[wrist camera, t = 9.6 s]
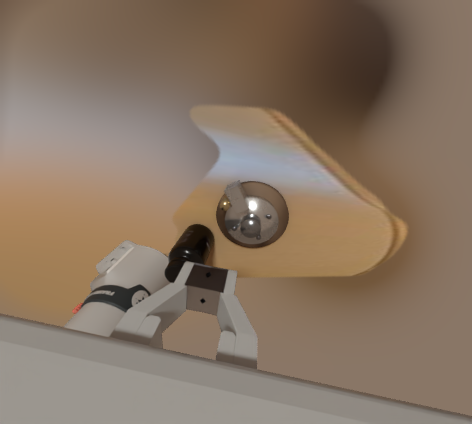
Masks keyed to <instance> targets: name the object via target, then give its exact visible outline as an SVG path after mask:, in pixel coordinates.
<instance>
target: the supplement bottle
mask: <svg viewBox="0 0 472 424" xmlns="http://www.w3.org/2000/svg"><path fill="white" fill-rule="evenodd" d="M213 242H214V236H213V234H212V232H211V231H210V229H208V228H207V227H206V226H203V225H200V224H194V225H191V226H189V227H188V228H187V229H186V230H185V231H184V233H183V234H182V236H181V237H180V238H179V240H178V241H177V243H176V244H175V245H174V247H173V248H172V250H171V251H170V253H169V256H168V261H169V263H168V266H167V267H166V269H165V272H164V273H165V277H166V279H167V280H168V281H169V282H170V283H174V282H175V280H176V278H177V277H178V275H179V273H180V271H181V269H182V267H183V265H184V263H185V262H186V261H189V262H193V263H198V264H203V265H205V263H206V260H207V258H208V255H209V253H210V250H211V248H212V245H213Z"/></svg>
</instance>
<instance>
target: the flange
mask: <svg viewBox="0 0 472 424" xmlns="http://www.w3.org/2000/svg"><path fill="white" fill-rule="evenodd" d="M224 192H225V194H226V195H227V197H228V199H229V201H230V203H231V205H230V207H229V209H228V210H227V212H226V215H225V226H226V228H227V230H228V232H229V234H230V235H231V236H232V237H233V238H235V239H236V240H238V241H240V242H242V243H246V244H259V243H263V242H265V241H267V240H269V239H270V238H271V237H272V236H273V235H274V234H275V232H276V231H277V228H278V223H279V220H278V214H277V211H276V209H275V207H274V206H273V205H272V203H271V202H269V201H268V200H267V199H265V198H263V197H260V196H255V195H246V193H245V191H244V189H243V187H242V184H241V182H240V180H238V181H236V182H234V183H231V184H229V185H227V187H226V189H225V191H224Z"/></svg>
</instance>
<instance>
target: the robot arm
mask: <svg viewBox="0 0 472 424" xmlns="http://www.w3.org/2000/svg"><path fill="white" fill-rule="evenodd" d="M168 263H169V261H168V257H166V256H165V255H164V254H163V253H161V252H159V251H158V250H156V249H153V248H150V247H147V246H140V245H137V244H135V243H133V242H131V241H128V240H125V241H124V242H122V243H121V244H120V245H119V246H118V247H116V248H115V250H113V251H112V252H111V253H110V254H108V255H107V256H106V257H105V258H104V259H102V260H101V261H100V262H99V263H98V264H97V265H96V269H97V271H98V273H99V275H98V276H97V277H96V278H95V279H94V280H93V281H92V282H91V284H90V286H91V291H92V292H91V293H90V294H89V295H88V296H87V298H86V299H85V301H84V303H80V304H79V305H77V306H76V307H75V308H74V309H73V311H72V312H73V313H74V314H75V315H74V316H73V318H71V319H70V320H69V322H68V323H67V324H66V325H65V326H64V327H60V326H55V325H50V324H45V323H42V322H37V321H33V320H28V319H23V318H19V317H14V316H9V315H5V314H0V424H472V416H469V415H465V414H460V413H455V412H450V411H446V410H442V409H437V408H432V407H428V406H423V405H418V404H414V403H409V402H405V401H400V400H396V399H391V398H386V397H382V396H377V395H373V394H368V393H363V392H359V391H354V390H350V389H345V388H340V387H336V386H331V385H327V384H322V383H317V382H313V381H308V380H303V379H299V378H294V377H290V376H285V375H281V374H276V373H271V372H267V371H262V370H257V335H256V333H255V331H254V330H253V327H252V326H251V323H250V321H249V320H248V317H247V315H246V314H245V312H244V310H243V308H242V306H241V304H240V302H239V300H238V298H237V296H235V295H234V292H235V285H236V278H237V271H234V270H228V269H223V268H218V267H213V266H207V265H203V264H198V263H193V262H189V261H186V262H185V263H184V265H183V267H182V269H181V271H180V273H179V275H178V277H177V278H176V280H175V282H174V283H170V282H169V281H168V280H167V279H166V277H165V273H164V272H165V269H166V267H167V266H168ZM186 309H188V310H193V311H199V312H204V313H208V314H212V315H216V316H217V318H218V322H219V325H220V329H221V332H222V333H221V335H220V340H219V346H218V350H217V355H216V360H212V359H207V358H202V357H198V356H193V355H189V354H184V353H180V352H175V351H170V350H166V349H163V346H162V332H163V331H164V330H166V328H168V327H169V326H170V325H171V324H172V323H173V322H174V321H175V320H176V319H177V318H178V317H180V316H181V315H182V314H183V313H184V312H185V311H186Z"/></svg>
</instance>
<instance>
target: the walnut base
mask: <svg viewBox="0 0 472 424" xmlns="http://www.w3.org/2000/svg"><path fill="white" fill-rule="evenodd" d="M241 184H242V187H243V189H244V191H245V193H246V195H255V196H260V197H263V198H265V199H267V200H268V201H269V202H271V203H272V205H273V206H274V207H275V209H276V211H277V214H278V220H279V223H278V228H277V231H276V232H275V234H274V235H273V236H272V237H271V238H270V239H269V240H267V241H265V242H263V243H259V244H246V243H242V242H240V241H238V240H236V239H235V238H233V237H232V236H231V235H230V234H229V232H228V230H227V228H226V226H225V215H226V212H227V210H228V209H229V207H230V205H231V203H230V201H229V199H228V197H227V195H226V194H224V195H223V196H222V198H221V200H220V202H219V204H218V207H217V211H216V218H217V223H218V226H219V228H220V230H221V231H222V233H223V234H224V235H225V236H226V237H227V238H228V239H229V240H231V241H232V242H234V243H236V244H239V245H241V246H245V247H262V246H265V245H268V244H271V243H272V242H274V241H276V240H277V239H278V238H279V237H280V236H281V235H282V234H283V233H284V231H285V230H286V227H287V224H288V220H289V213H288V208H287V205H286V202H285V200H284V198H283V197H282V195H281V194H280V193H279V192H278V191H277V190H276V189H275V188H273V187H271V186H270V185H267V184H265V183H262V182H256V181H248V182H242V183H241Z"/></svg>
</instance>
